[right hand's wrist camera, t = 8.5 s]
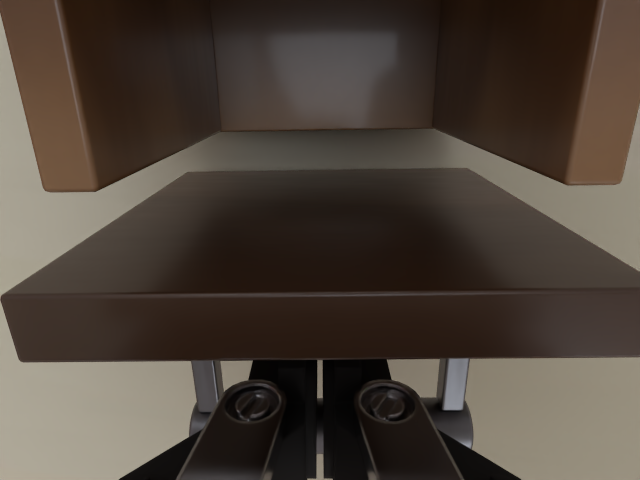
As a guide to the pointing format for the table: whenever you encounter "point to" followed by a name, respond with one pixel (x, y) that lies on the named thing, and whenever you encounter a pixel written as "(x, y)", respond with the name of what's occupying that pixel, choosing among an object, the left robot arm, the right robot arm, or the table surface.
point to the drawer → (327, 184)
